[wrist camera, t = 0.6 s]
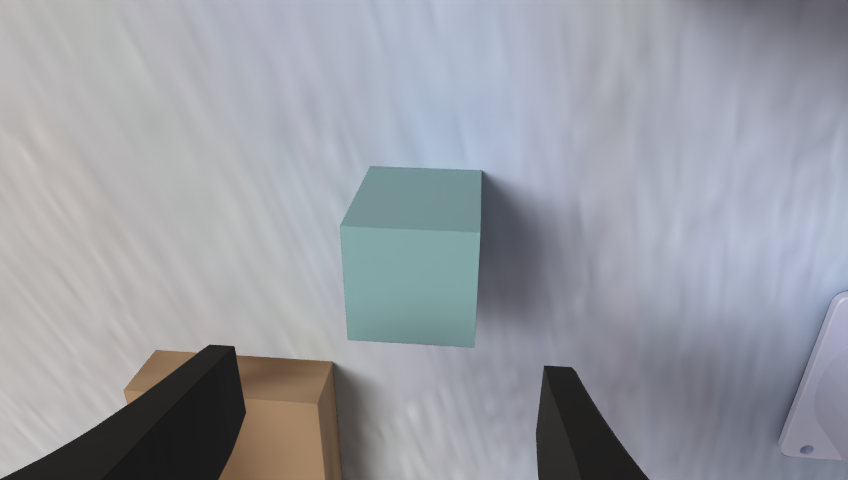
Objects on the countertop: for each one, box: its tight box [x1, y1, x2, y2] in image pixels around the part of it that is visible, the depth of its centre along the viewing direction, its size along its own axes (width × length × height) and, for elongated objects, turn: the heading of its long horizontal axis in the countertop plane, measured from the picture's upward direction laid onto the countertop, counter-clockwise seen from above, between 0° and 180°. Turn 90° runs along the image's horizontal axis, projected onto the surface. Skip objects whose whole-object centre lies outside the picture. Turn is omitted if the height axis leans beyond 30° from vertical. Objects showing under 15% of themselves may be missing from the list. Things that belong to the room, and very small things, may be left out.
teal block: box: [340, 166, 482, 348], centre depth 20 cm, size 4×4×5 cm
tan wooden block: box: [124, 350, 343, 480], centre depth 27 cm, size 8×8×3 cm
